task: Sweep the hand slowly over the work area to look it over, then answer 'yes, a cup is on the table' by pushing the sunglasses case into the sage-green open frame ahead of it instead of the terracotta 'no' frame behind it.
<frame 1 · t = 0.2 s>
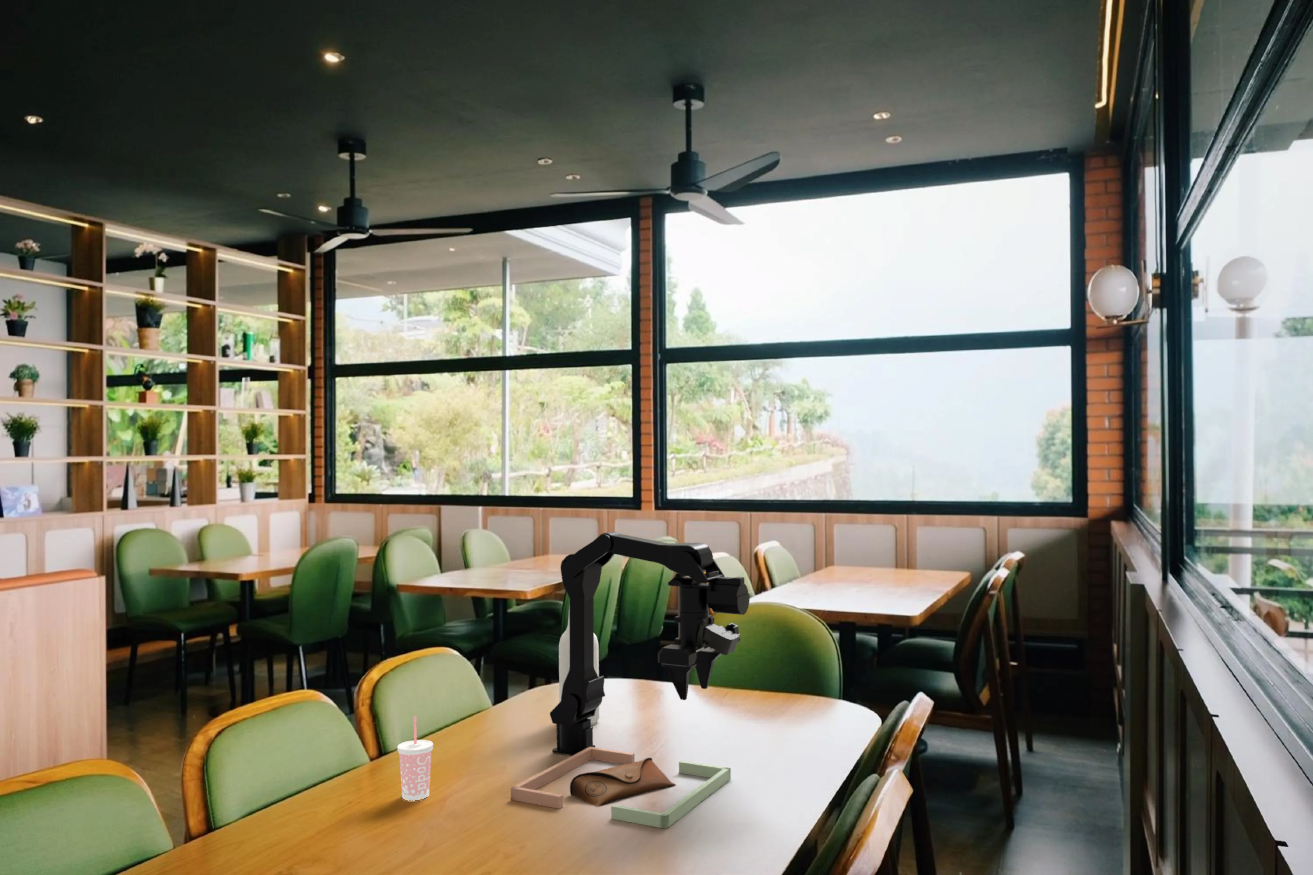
hand: (694, 693, 179), 14 cm above the table, tool pointing down, fingers open, 9 cm apart
sunglasses case: (624, 793, 169), on the table
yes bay: (674, 797, 164), on the table
beverage cup: (415, 797, 167), on the table
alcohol: (579, 723, 212), on the table
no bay: (576, 780, 174), on the table
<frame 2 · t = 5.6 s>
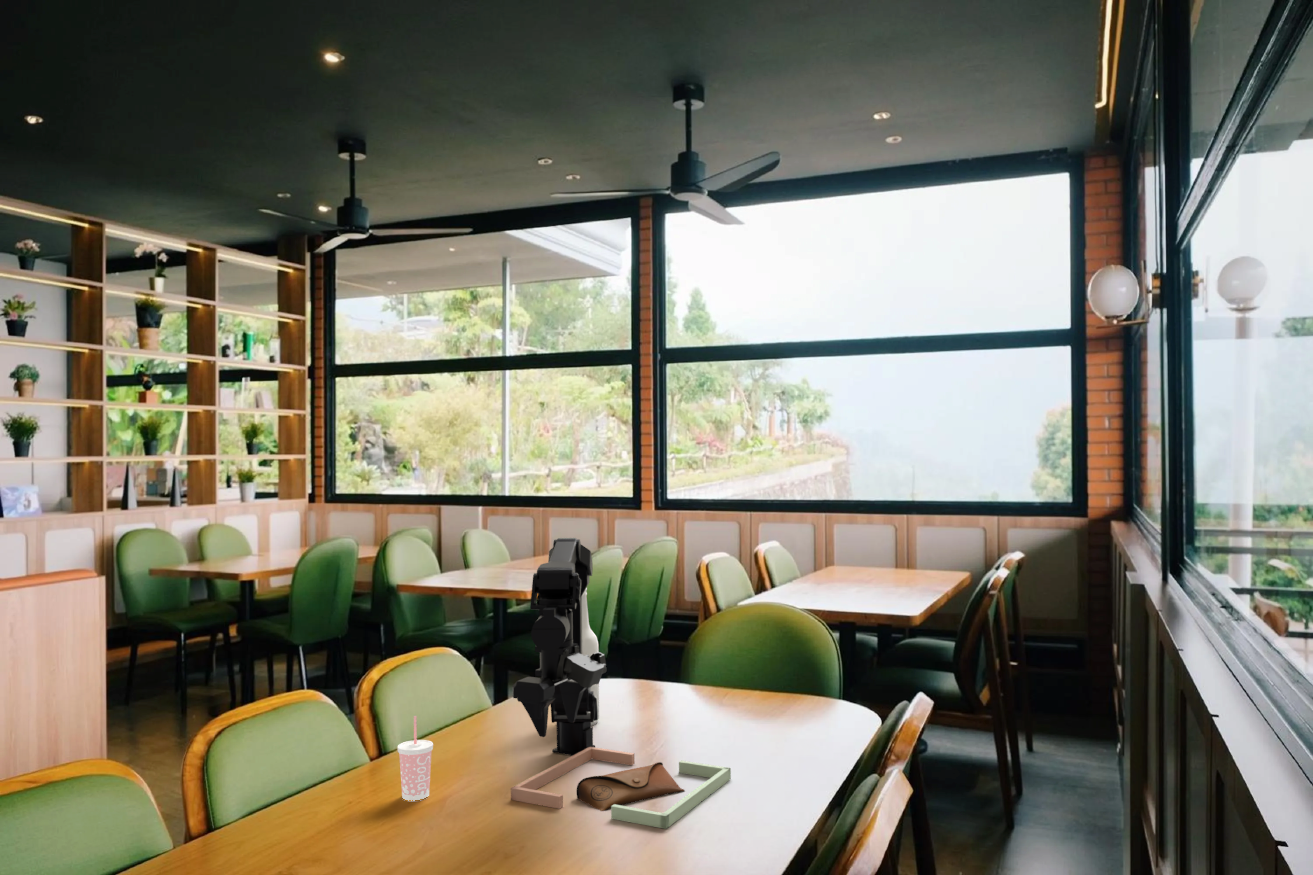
hand: (557, 729, 165), 12 cm above the table, tool pointing down, fingers open, 9 cm apart
sunglasses case: (632, 797, 167), on the table
everything else where it was.
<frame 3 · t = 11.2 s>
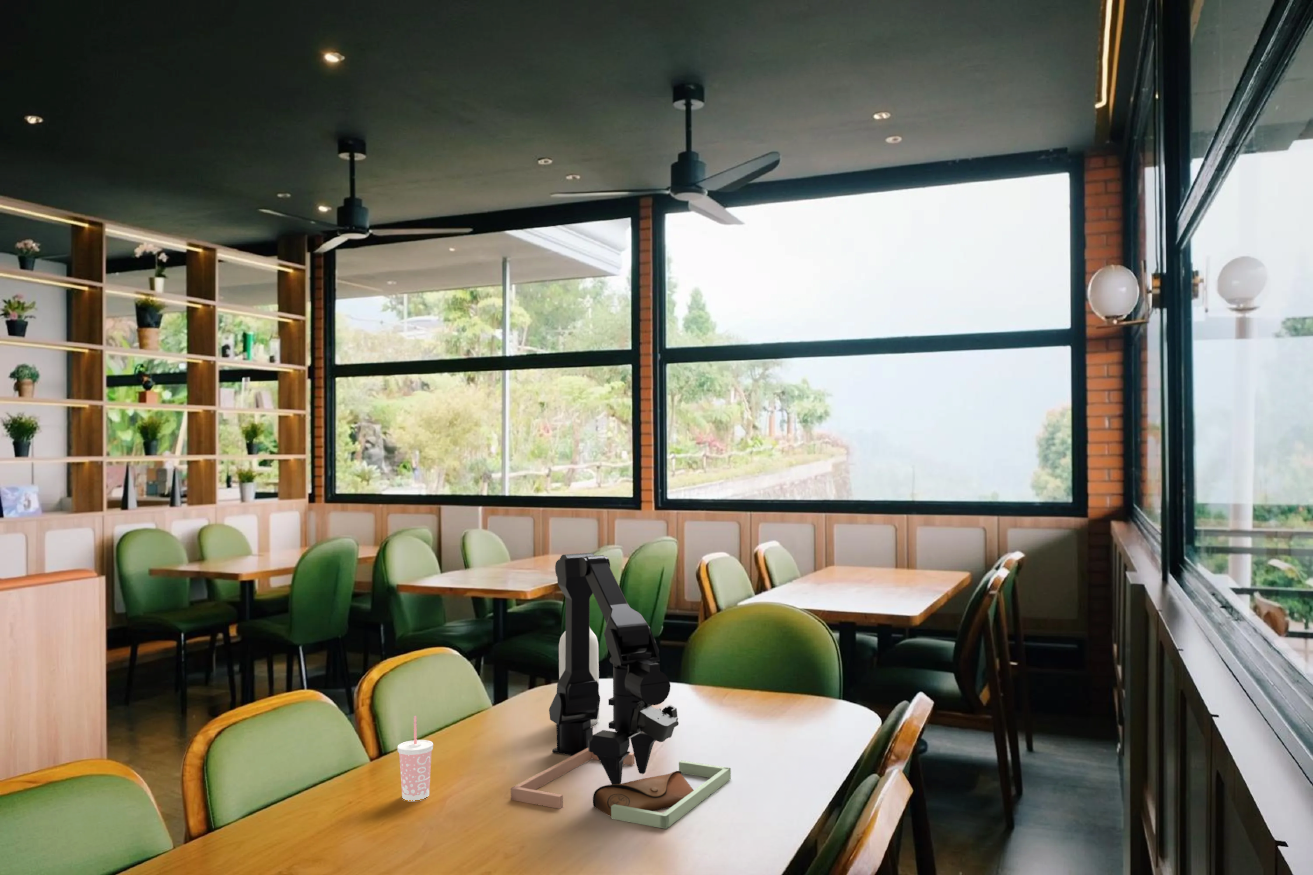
hand: (629, 780, 169), 2 cm above the table, tool pointing down, fingers open, 9 cm apart
sunglasses case: (650, 807, 162), on the table, touching gripper
everything else where it was.
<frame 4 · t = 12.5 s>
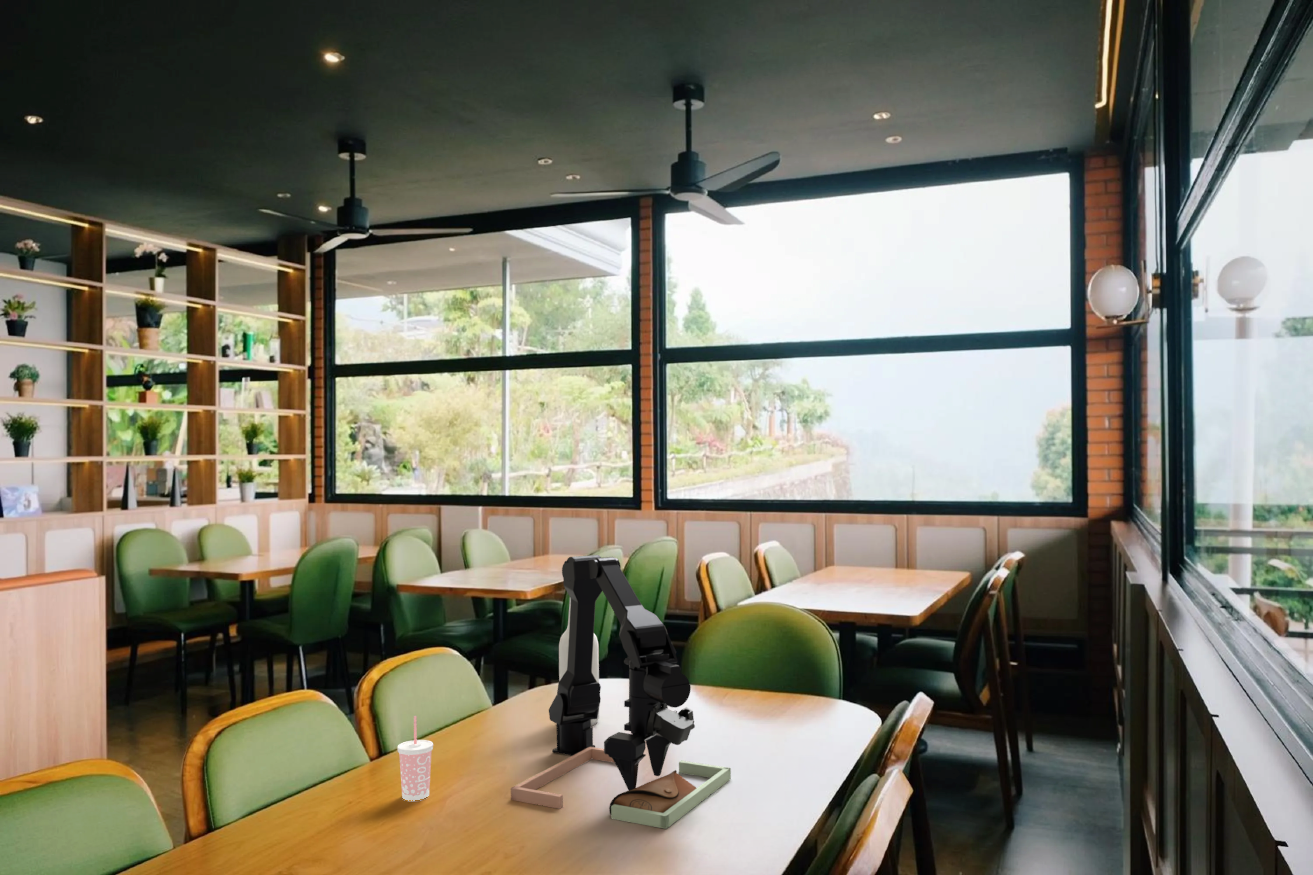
hand: (644, 783, 167), 2 cm above the table, tool pointing down, fingers open, 9 cm apart
sunglasses case: (661, 809, 162), on the table, touching gripper
everything else where it was.
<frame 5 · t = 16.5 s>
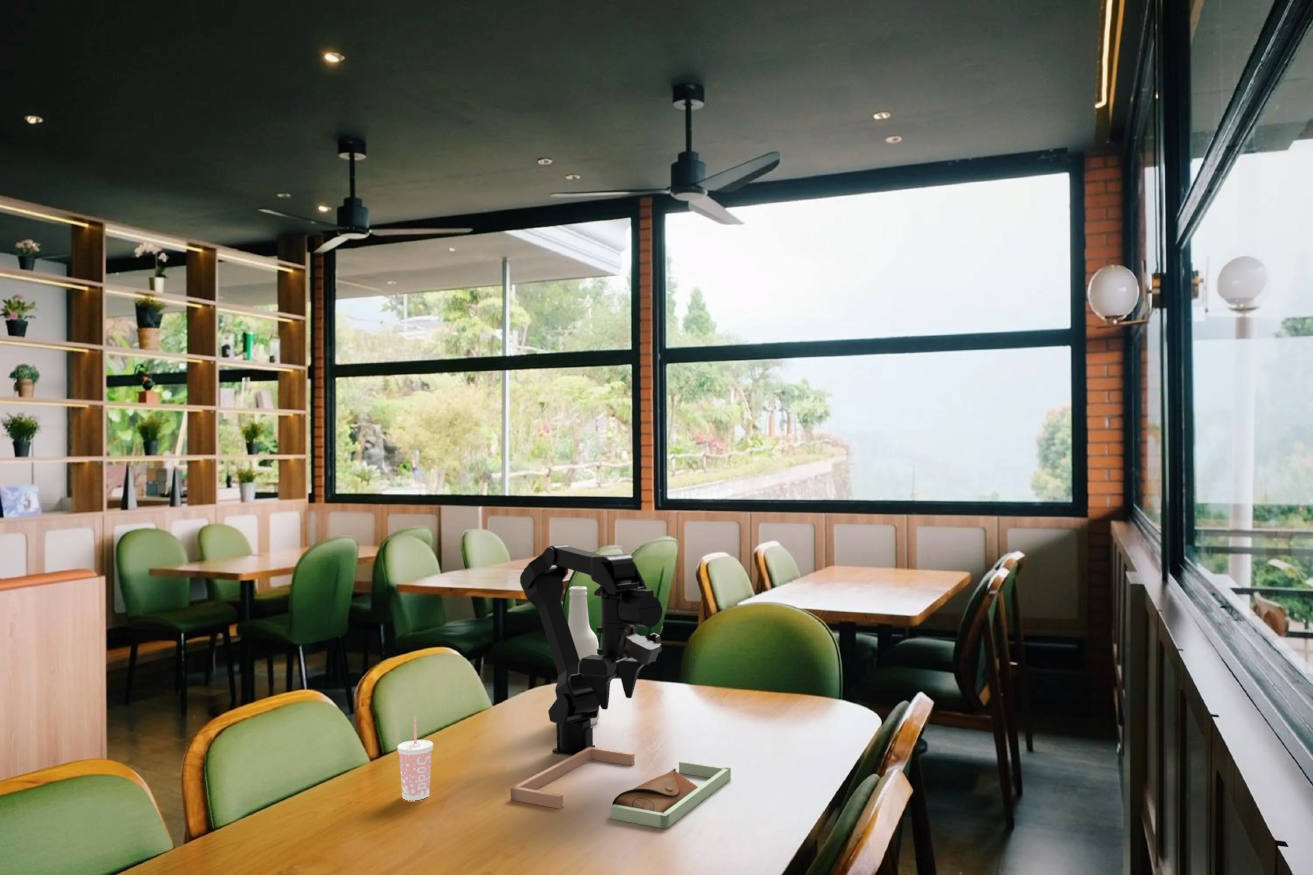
hand: (617, 703, 181), 12 cm above the table, tool pointing down, fingers open, 9 cm apart
sunglasses case: (662, 807, 162), on the table
everything else where it was.
at the end: sunglasses case inside the target area on the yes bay (3.5 cm from its centre), point -0.7 cm above the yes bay's base; sunglasses case moved 10.1 cm from its start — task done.
